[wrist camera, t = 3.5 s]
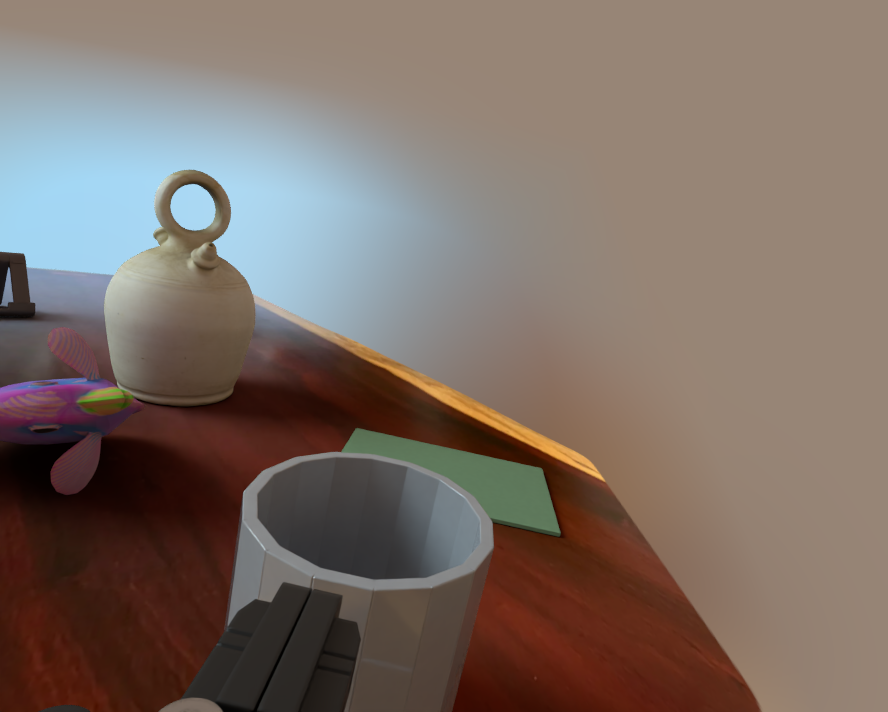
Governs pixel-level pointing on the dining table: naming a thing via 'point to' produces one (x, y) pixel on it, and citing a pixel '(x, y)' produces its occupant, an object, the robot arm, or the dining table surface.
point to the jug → (180, 309)
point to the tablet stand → (15, 286)
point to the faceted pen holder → (373, 566)
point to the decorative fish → (66, 412)
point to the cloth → (474, 478)
